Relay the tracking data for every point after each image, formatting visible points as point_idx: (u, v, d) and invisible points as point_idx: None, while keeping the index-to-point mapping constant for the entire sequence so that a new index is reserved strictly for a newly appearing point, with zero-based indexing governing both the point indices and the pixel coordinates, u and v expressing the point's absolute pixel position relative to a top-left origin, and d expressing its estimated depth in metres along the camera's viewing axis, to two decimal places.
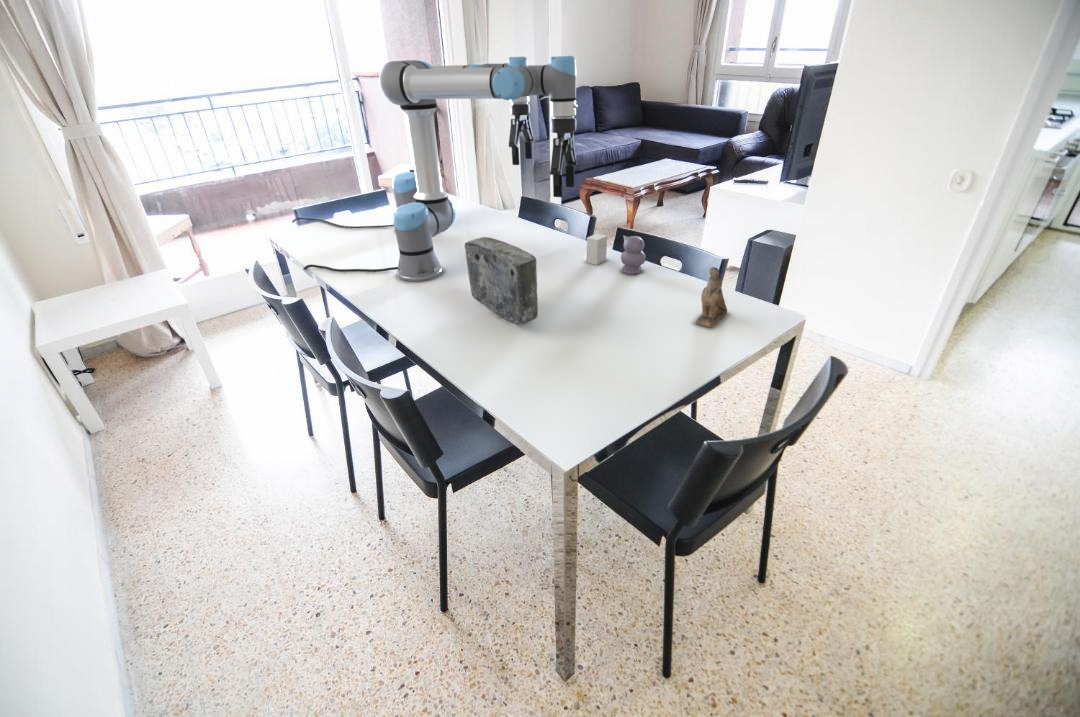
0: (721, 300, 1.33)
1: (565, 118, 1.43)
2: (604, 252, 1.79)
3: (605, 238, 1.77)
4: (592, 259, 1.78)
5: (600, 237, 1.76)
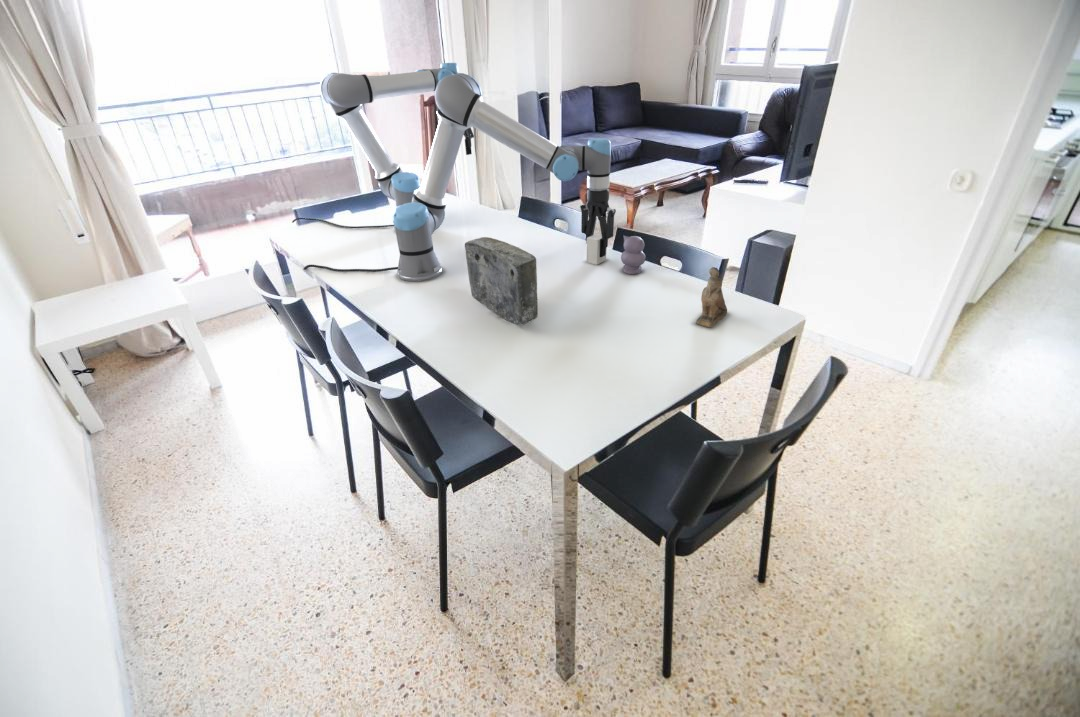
0: (721, 300, 1.33)
1: (607, 188, 1.67)
2: None
3: None
4: (592, 259, 1.78)
5: (600, 237, 1.76)
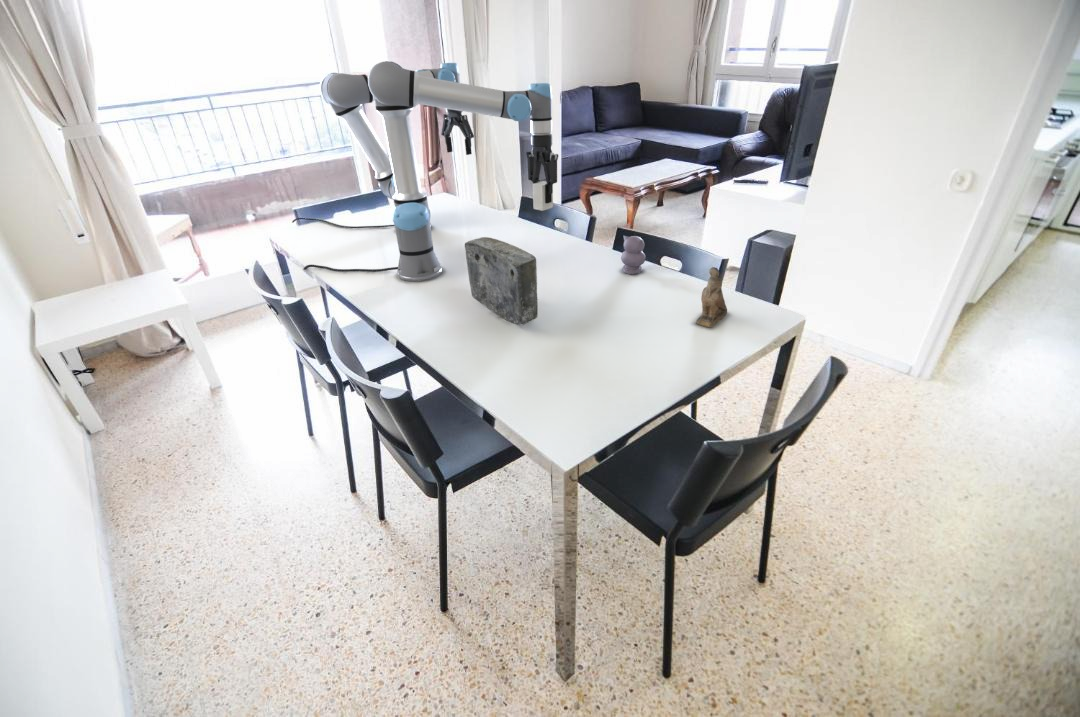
0: (721, 300, 1.33)
1: None
2: None
3: None
4: (538, 205, 1.84)
5: (545, 183, 1.81)
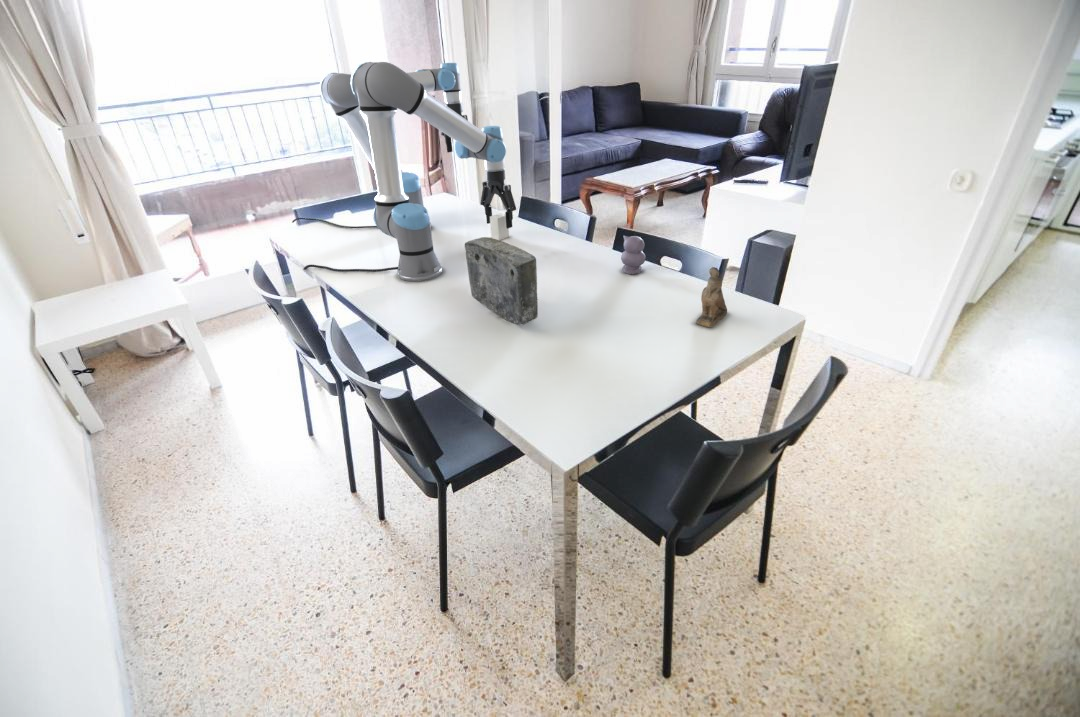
0: (721, 300, 1.33)
1: (502, 169, 1.94)
2: (506, 229, 2.06)
3: None
4: (495, 235, 2.05)
5: (501, 216, 2.03)
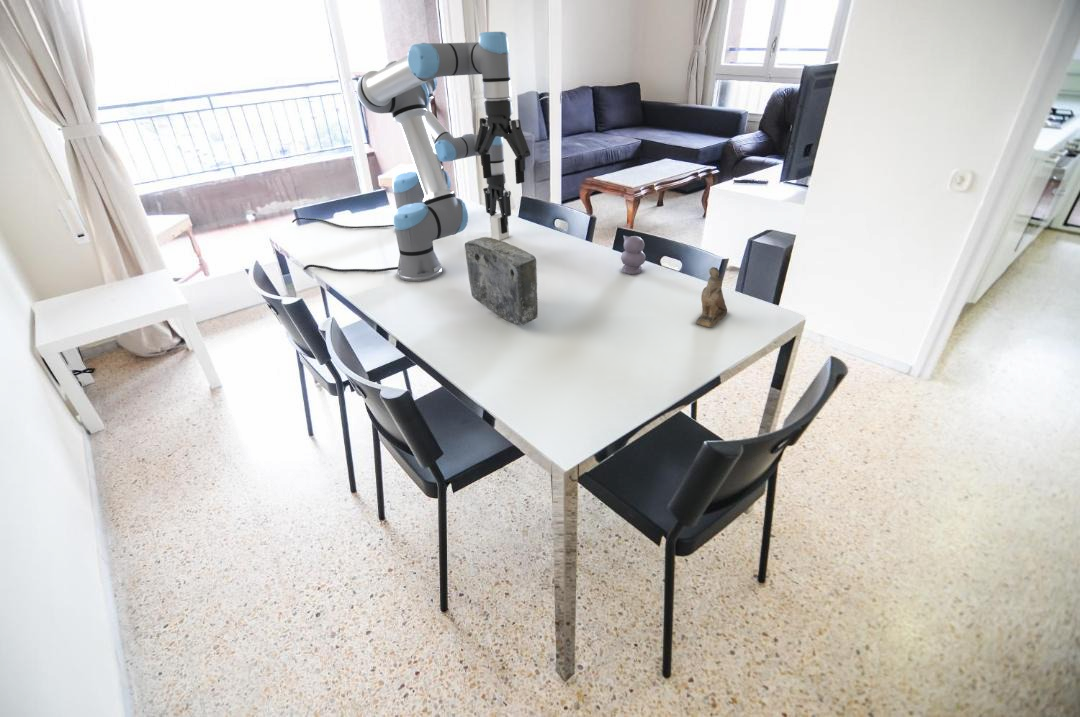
0: (721, 300, 1.33)
1: (508, 99, 1.35)
2: None
3: None
4: (495, 235, 2.05)
5: (501, 216, 2.03)
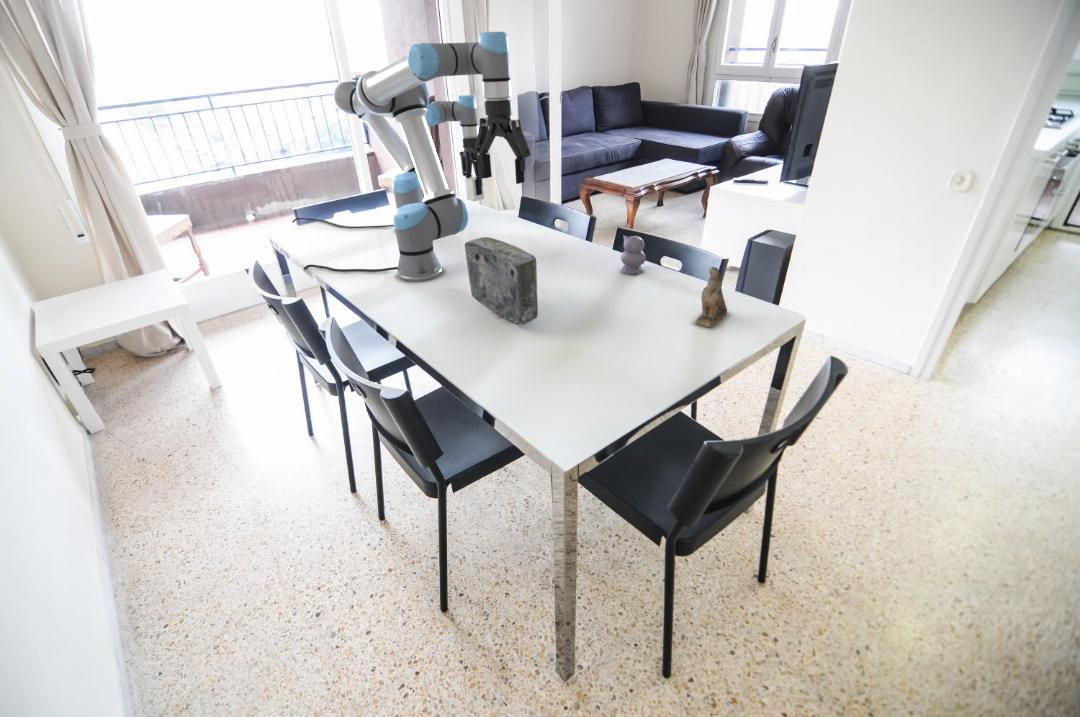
0: (721, 300, 1.33)
1: (508, 99, 1.35)
2: None
3: None
4: (470, 196, 2.19)
5: None
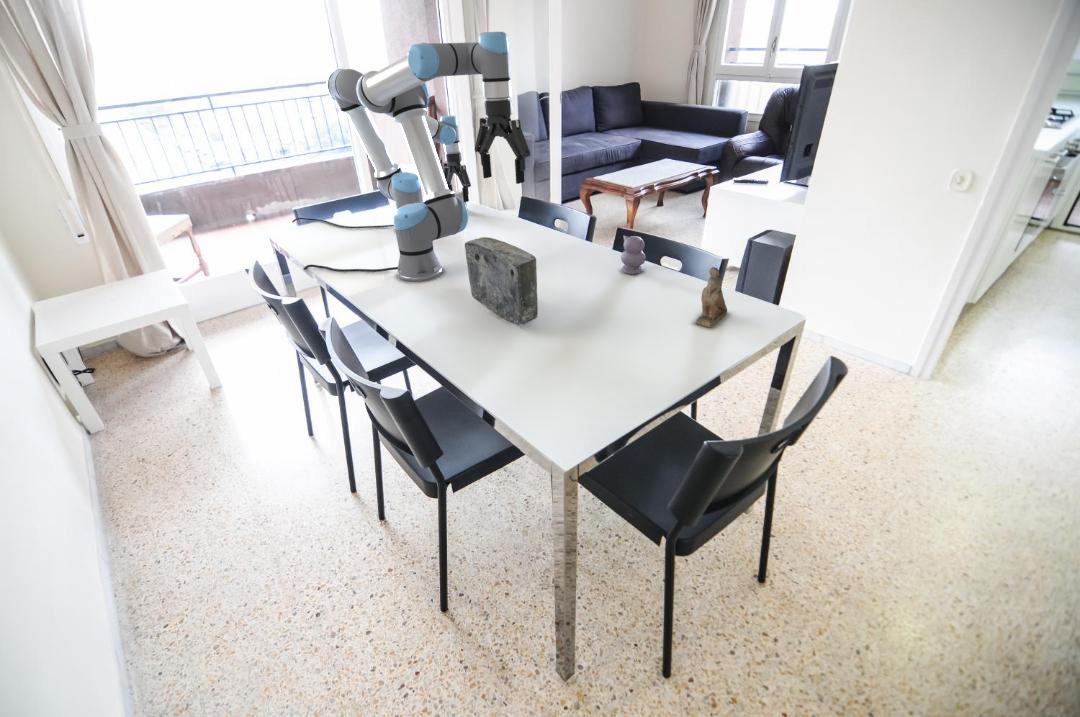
0: (721, 300, 1.33)
1: (508, 99, 1.35)
2: None
3: None
4: None
5: (459, 192, 2.42)
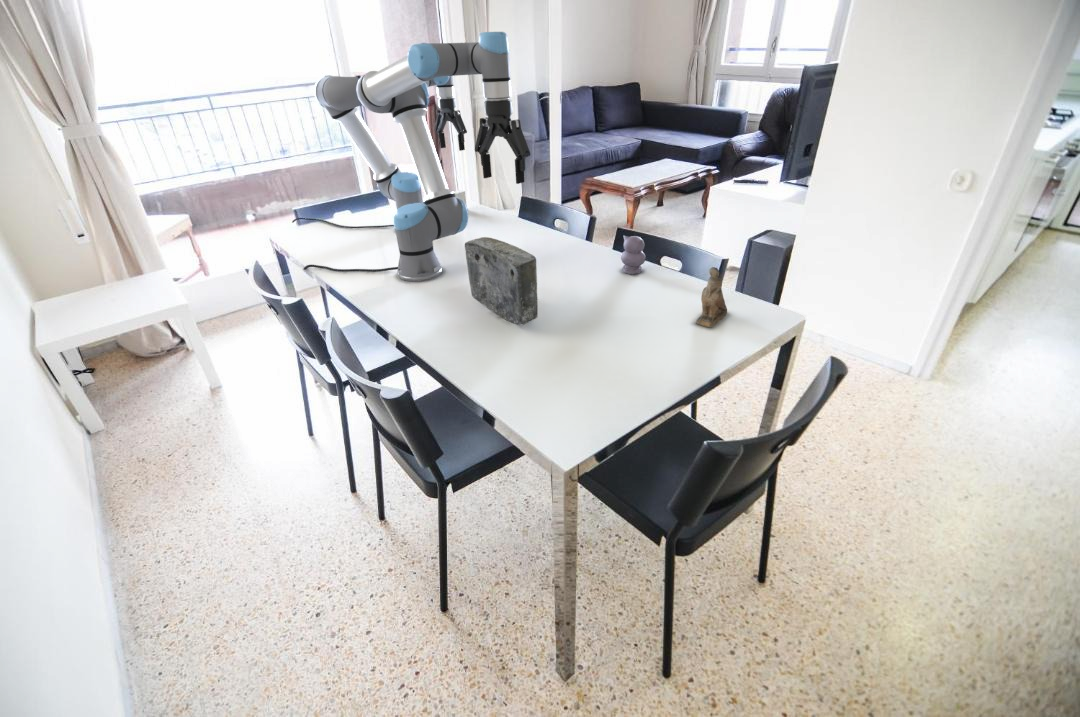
0: (721, 300, 1.33)
1: (508, 99, 1.35)
2: None
3: (463, 193, 2.43)
4: None
5: (459, 192, 2.42)
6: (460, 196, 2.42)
